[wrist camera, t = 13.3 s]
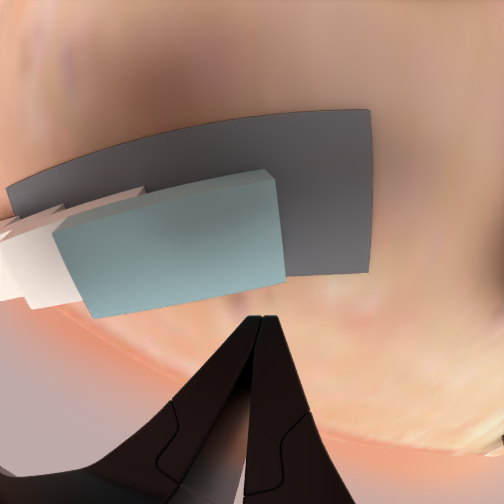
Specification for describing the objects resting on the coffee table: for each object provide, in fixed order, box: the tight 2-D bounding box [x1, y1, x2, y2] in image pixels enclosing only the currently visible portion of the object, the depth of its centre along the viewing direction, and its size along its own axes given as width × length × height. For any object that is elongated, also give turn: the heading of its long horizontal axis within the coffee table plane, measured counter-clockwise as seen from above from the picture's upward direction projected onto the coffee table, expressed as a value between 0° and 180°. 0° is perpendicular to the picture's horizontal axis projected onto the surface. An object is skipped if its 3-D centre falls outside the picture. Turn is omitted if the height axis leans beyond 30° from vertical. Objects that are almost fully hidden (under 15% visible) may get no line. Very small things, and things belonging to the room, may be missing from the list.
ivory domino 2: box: [0, 186, 146, 309], centre depth 14 cm, size 2×5×10 cm
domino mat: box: [6, 110, 373, 276], centre depth 15 cm, size 25×8×1 cm, turn 99°
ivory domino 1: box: [0, 203, 66, 301], centre depth 16 cm, size 2×5×10 cm
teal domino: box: [52, 169, 286, 319], centre depth 13 cm, size 2×5×10 cm
